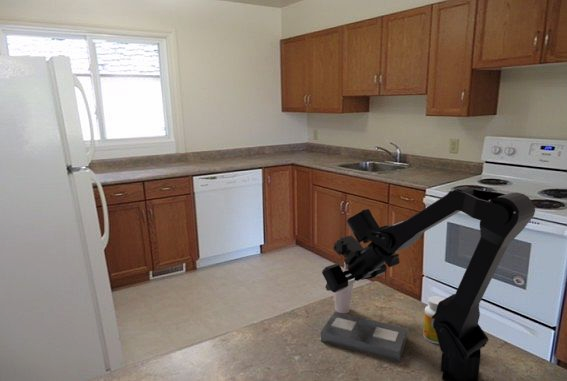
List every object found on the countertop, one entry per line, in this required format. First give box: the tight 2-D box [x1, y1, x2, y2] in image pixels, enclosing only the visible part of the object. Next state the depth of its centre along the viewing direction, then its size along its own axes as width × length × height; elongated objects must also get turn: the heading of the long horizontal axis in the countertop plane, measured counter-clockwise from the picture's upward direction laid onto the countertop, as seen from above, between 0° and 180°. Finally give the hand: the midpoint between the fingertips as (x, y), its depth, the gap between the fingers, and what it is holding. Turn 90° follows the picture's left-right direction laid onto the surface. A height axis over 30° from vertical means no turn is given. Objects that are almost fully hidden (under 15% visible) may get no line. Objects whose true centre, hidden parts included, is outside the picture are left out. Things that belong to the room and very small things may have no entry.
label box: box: [320, 311, 408, 363], centre depth 89 cm, size 18×10×3 cm, turn 63°
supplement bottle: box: [422, 295, 445, 345], centre depth 89 cm, size 5×5×10 cm
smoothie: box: [333, 261, 356, 314], centre depth 101 cm, size 6×6×14 cm
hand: (339, 283), depth 103 cm, fingers open, 9 cm apart
